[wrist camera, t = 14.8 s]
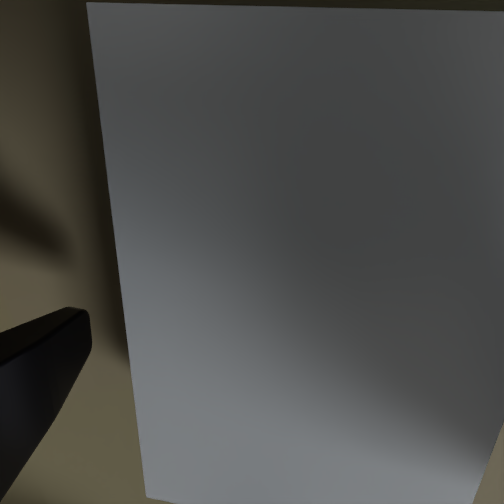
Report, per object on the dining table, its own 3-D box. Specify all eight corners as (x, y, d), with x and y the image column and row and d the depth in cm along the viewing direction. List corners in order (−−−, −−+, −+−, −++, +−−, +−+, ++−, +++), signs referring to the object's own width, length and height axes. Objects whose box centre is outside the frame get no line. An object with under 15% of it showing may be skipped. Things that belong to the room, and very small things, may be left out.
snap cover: (191, 394, 12) (146, 497, 9) (174, 11, 8) (85, 2, 5) (425, 433, 11) (449, 561, 8) (542, 20, 7) (659, 14, 4)
